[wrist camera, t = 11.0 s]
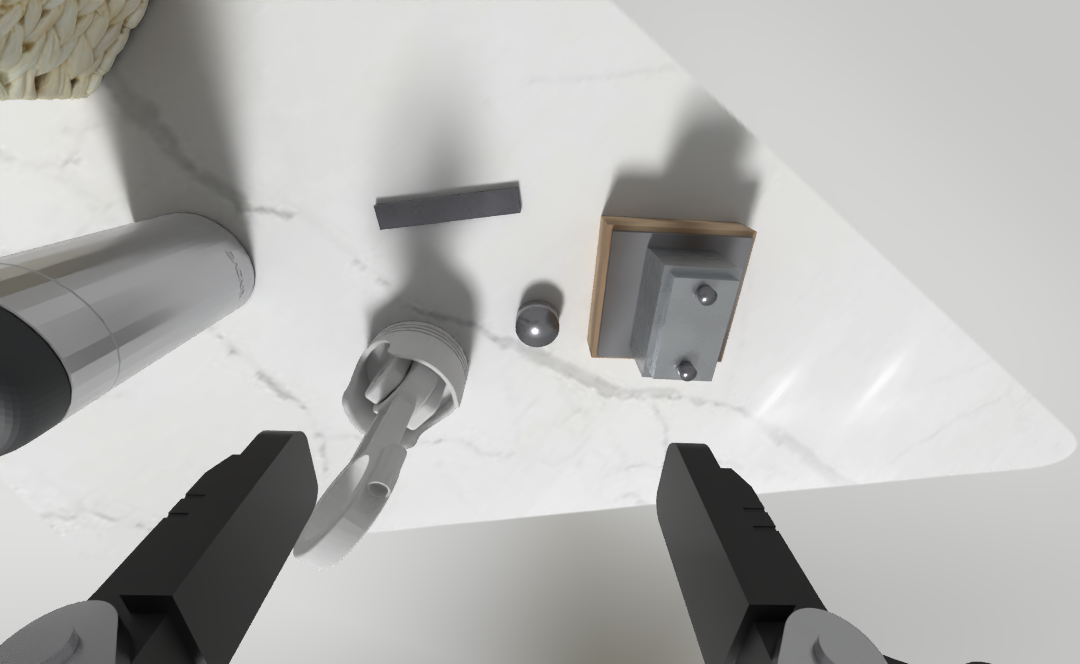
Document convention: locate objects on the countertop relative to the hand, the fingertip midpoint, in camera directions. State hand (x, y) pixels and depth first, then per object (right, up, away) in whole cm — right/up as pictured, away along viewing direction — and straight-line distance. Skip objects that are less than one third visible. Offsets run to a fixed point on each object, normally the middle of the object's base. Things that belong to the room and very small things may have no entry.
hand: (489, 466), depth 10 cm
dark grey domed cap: (+1, +4, +31) cm, 32 cm away
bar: (-7, +14, +27) cm, 31 cm away
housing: (+12, +6, +26) cm, 30 cm away
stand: (+12, +7, +30) cm, 33 cm away
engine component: (-11, -1, +34) cm, 36 cm away
